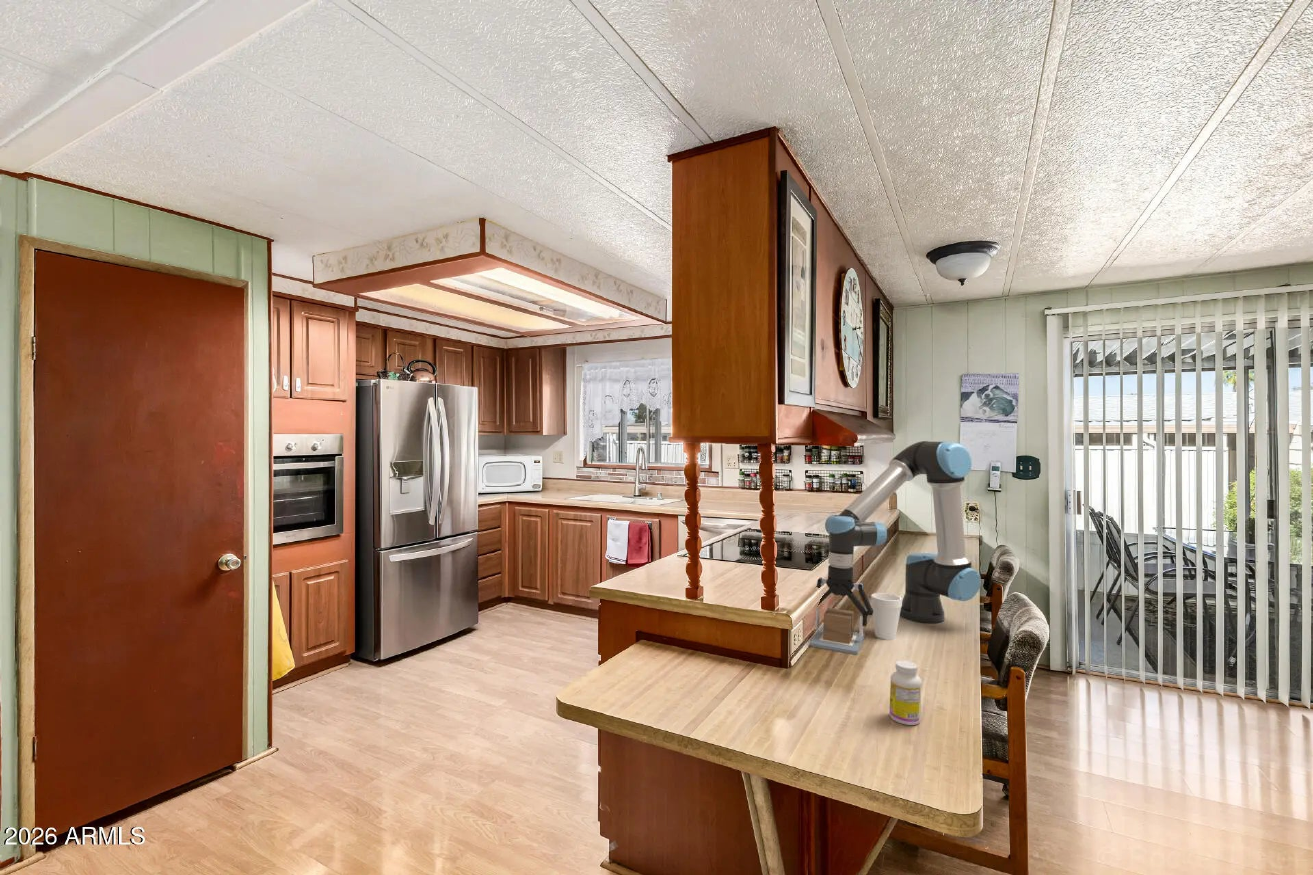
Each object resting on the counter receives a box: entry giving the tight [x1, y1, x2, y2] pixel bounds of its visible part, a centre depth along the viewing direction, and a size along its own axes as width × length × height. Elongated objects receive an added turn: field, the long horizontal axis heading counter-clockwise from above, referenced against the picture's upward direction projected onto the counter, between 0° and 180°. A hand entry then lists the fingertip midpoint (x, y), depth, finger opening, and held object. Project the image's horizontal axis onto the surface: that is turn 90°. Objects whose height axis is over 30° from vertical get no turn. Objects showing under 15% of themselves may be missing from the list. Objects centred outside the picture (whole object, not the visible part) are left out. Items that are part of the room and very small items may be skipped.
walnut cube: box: [822, 607, 855, 644], centre depth 189 cm, size 8×8×8 cm
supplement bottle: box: [889, 660, 923, 726], centre depth 138 cm, size 7×7×13 cm
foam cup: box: [870, 592, 903, 641], centre depth 195 cm, size 10×9×13 cm
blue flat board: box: [809, 626, 866, 655], centre depth 189 cm, size 18×14×1 cm
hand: (838, 632), depth 189 cm, fingers open, 13 cm apart
